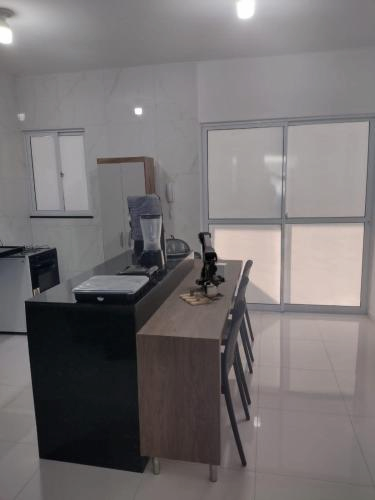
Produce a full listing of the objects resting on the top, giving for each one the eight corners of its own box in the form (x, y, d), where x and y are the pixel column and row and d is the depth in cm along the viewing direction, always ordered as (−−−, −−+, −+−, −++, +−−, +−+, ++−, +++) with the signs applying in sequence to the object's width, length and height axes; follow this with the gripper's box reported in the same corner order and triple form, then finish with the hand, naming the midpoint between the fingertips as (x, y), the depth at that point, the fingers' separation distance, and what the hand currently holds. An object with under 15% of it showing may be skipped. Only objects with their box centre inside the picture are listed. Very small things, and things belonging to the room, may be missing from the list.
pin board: (179, 296, 237) (179, 288, 236) (198, 294, 242) (197, 285, 241) (192, 305, 219) (192, 296, 218) (211, 302, 224) (211, 293, 223)
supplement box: (228, 279, 278) (228, 263, 276) (224, 282, 272) (224, 265, 270) (219, 278, 282) (219, 262, 280) (215, 281, 276) (214, 264, 273)
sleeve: (204, 294, 241) (204, 285, 240) (212, 293, 243) (212, 284, 242) (208, 297, 235) (208, 287, 234) (216, 295, 237) (216, 286, 236)
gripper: (202, 274, 225) (202, 299, 228) (229, 271, 233) (229, 295, 235) (194, 270, 236) (195, 294, 238) (220, 267, 243) (220, 290, 245)
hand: (210, 293), depth 239 cm, fingers closed on sleeve, 6 cm apart
